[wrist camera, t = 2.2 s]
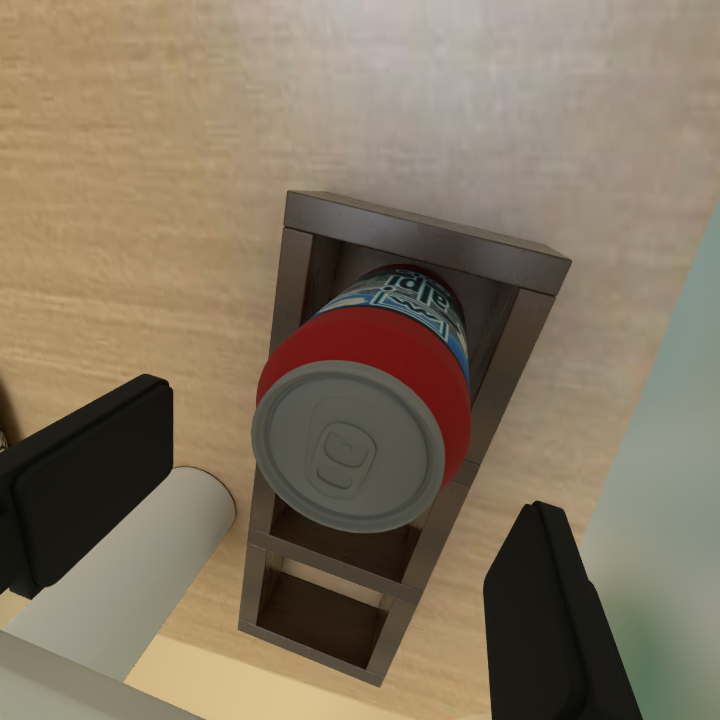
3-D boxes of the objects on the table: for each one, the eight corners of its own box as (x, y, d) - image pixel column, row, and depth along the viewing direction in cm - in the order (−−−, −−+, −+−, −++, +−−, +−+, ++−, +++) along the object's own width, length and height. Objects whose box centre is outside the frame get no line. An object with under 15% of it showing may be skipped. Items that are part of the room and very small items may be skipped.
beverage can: (488, 290, 19) (528, 410, 8) (433, 396, 22) (410, 585, 11) (365, 240, 20) (253, 294, 9) (328, 351, 23) (210, 491, 12)
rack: (322, 191, 19) (286, 190, 15) (547, 245, 18) (573, 260, 14) (264, 576, 32) (237, 630, 28) (390, 625, 31) (380, 688, 27)
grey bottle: (147, 478, 31) (-649, 1198, 9) (202, 455, 29) (-721, 1388, 6) (195, 538, 33) (-376, 1277, 10) (252, 521, 30) (-344, 1456, 8)
